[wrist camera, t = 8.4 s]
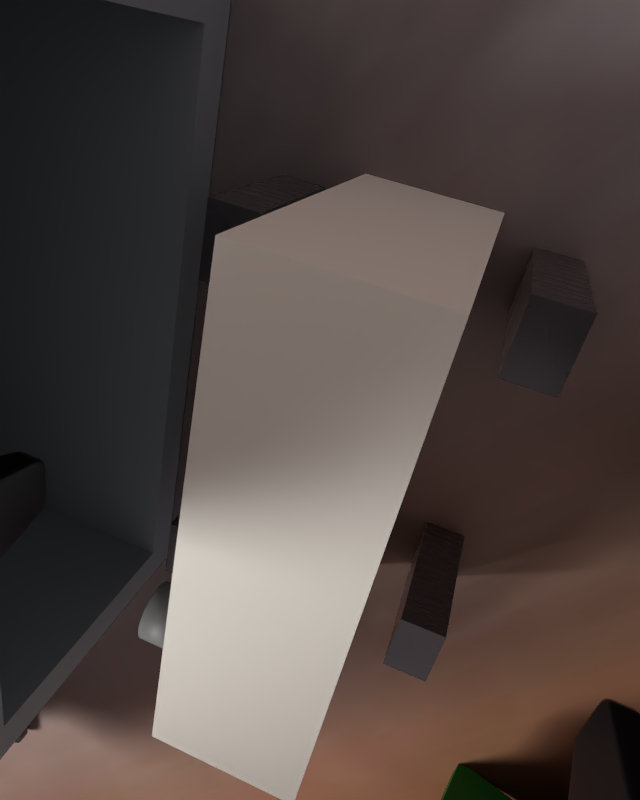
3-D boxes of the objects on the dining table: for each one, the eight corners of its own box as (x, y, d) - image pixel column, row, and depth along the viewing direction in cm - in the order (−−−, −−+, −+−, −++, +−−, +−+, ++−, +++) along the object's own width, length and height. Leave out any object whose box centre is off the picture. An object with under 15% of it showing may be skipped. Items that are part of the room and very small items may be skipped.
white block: (323, 161, 13) (138, 211, 7) (504, 212, 12) (469, 315, 6) (252, 511, 18) (107, 714, 12) (379, 563, 17) (293, 804, 11)
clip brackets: (446, 577, 17) (425, 681, 14) (228, 491, 18) (165, 570, 15) (584, 261, 12) (597, 313, 9) (282, 175, 13) (207, 197, 10)
